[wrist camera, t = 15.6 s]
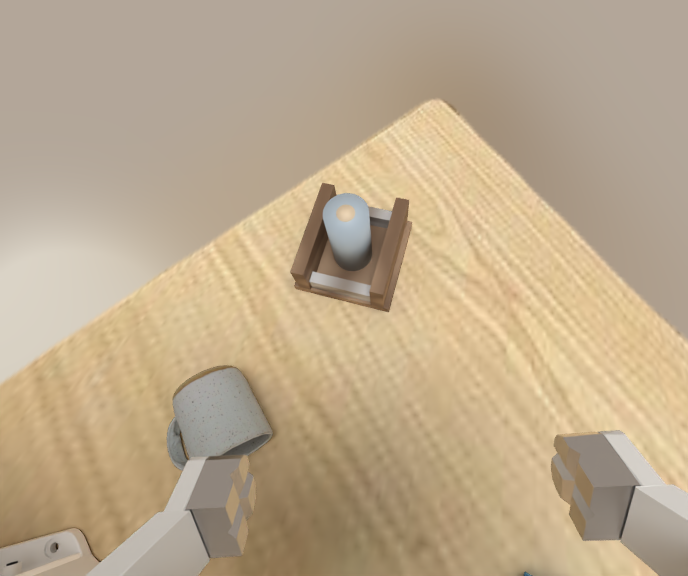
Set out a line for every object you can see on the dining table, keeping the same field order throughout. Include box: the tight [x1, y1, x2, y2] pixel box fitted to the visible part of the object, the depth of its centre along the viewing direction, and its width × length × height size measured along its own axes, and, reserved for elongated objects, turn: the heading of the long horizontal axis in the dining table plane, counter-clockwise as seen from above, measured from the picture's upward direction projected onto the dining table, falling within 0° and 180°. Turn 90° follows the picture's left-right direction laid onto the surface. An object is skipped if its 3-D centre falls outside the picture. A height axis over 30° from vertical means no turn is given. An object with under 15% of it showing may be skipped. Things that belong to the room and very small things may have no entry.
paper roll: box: [323, 193, 372, 271], centre depth 42 cm, size 4×4×9 cm
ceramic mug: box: [167, 365, 273, 471], centre depth 39 cm, size 11×8×8 cm
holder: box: [291, 183, 412, 312], centre depth 45 cm, size 11×11×6 cm
